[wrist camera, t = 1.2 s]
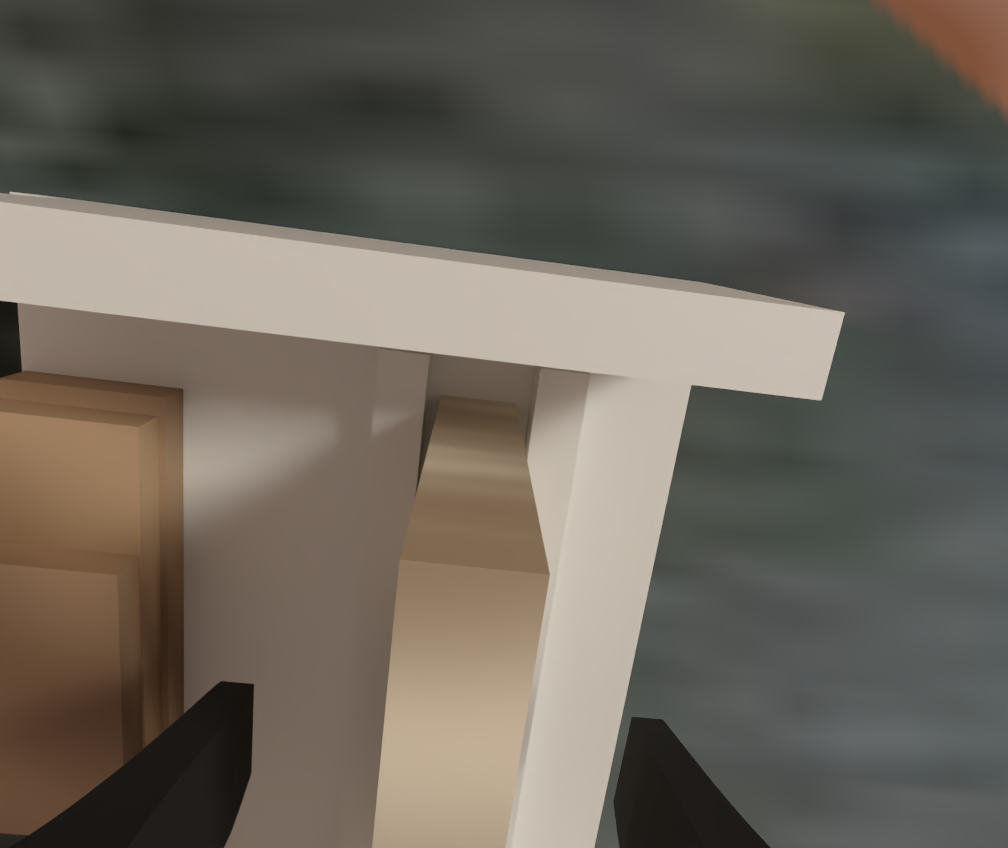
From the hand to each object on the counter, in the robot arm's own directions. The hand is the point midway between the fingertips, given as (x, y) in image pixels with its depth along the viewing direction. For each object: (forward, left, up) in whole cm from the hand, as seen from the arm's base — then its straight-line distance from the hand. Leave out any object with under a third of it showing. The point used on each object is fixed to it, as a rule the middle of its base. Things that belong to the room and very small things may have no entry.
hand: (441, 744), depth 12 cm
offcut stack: (-6, +5, -3) cm, 9 cm away
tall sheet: (0, 0, -3) cm, 3 cm away
